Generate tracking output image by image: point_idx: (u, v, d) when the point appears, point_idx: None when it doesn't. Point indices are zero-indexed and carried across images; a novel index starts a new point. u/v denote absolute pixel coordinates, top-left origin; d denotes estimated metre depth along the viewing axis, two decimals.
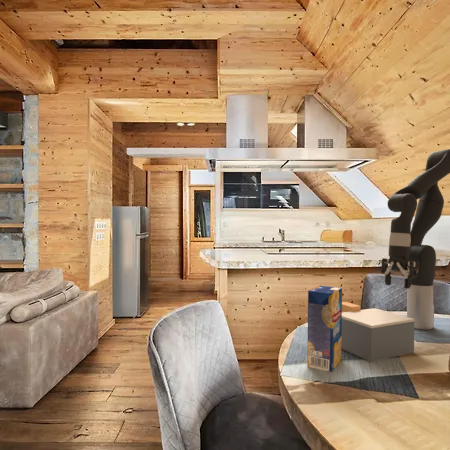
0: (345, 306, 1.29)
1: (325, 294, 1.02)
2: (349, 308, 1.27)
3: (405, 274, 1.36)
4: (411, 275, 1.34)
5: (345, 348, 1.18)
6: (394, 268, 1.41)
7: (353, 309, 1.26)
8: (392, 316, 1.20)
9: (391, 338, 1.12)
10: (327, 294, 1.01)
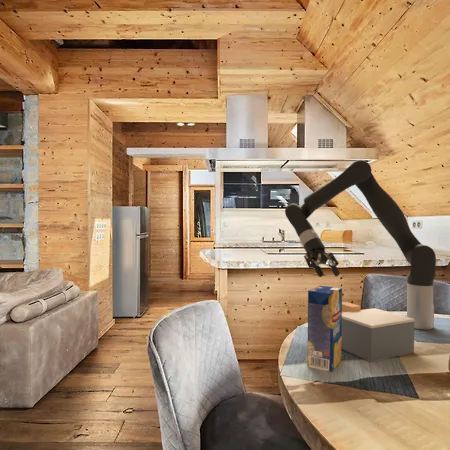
0: (345, 306, 1.29)
1: (325, 294, 1.02)
2: (349, 308, 1.27)
3: None
4: None
5: (345, 348, 1.18)
6: None
7: (353, 309, 1.26)
8: (392, 316, 1.20)
9: (391, 338, 1.12)
10: (327, 294, 1.01)
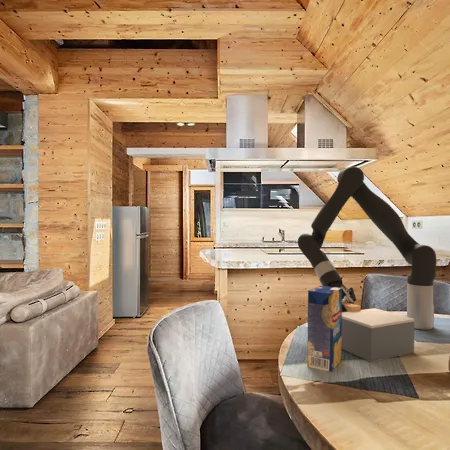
0: (345, 306, 1.29)
1: (325, 294, 1.02)
2: (349, 308, 1.27)
3: None
4: None
5: (345, 348, 1.18)
6: None
7: (353, 309, 1.26)
8: (392, 316, 1.20)
9: (391, 338, 1.12)
10: (327, 294, 1.01)
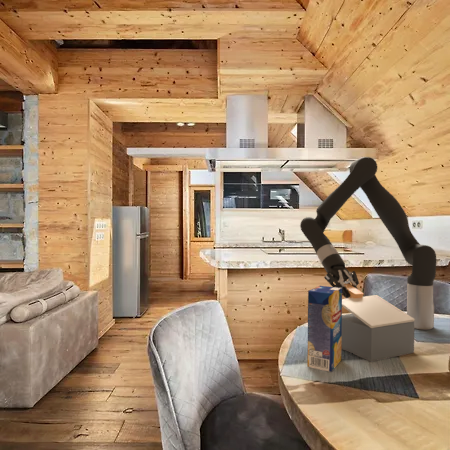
0: (348, 291, 1.27)
1: (325, 294, 1.02)
2: (352, 294, 1.26)
3: None
4: None
5: (345, 348, 1.18)
6: None
7: (356, 296, 1.25)
8: (393, 312, 1.19)
9: (391, 338, 1.12)
10: (327, 294, 1.01)
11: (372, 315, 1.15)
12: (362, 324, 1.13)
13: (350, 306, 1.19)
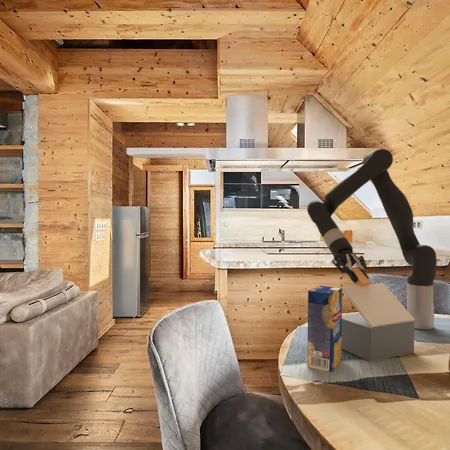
0: None
1: (325, 294, 1.02)
2: (358, 282, 1.23)
3: None
4: None
5: (345, 348, 1.18)
6: None
7: (362, 284, 1.23)
8: (395, 308, 1.18)
9: (391, 338, 1.12)
10: (327, 294, 1.01)
11: (374, 311, 1.14)
12: (362, 324, 1.13)
13: (354, 297, 1.17)
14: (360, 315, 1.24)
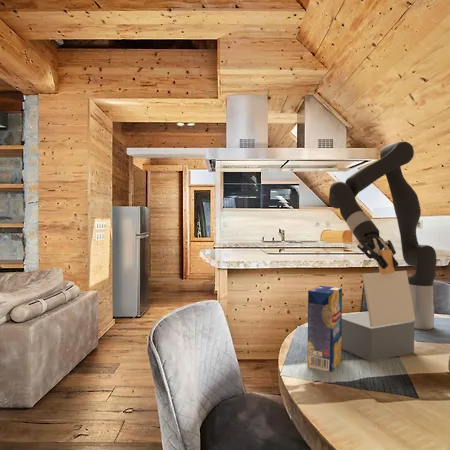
0: None
1: (325, 294, 1.02)
2: (383, 270, 1.14)
3: None
4: None
5: (345, 348, 1.18)
6: None
7: (385, 273, 1.14)
8: (404, 305, 1.16)
9: (391, 338, 1.12)
10: (327, 294, 1.01)
11: (382, 308, 1.11)
12: (362, 324, 1.13)
13: (370, 289, 1.11)
14: (360, 315, 1.24)
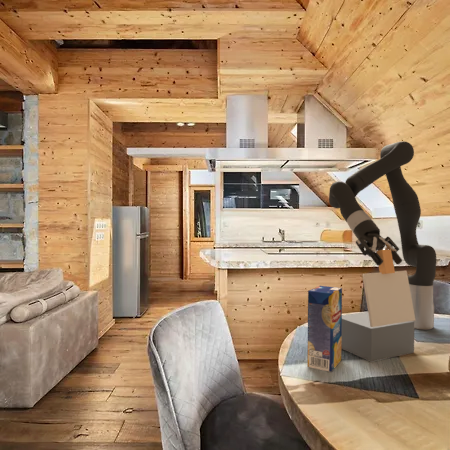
0: (383, 263, 1.14)
1: (325, 294, 1.02)
2: (383, 270, 1.14)
3: None
4: None
5: (345, 348, 1.18)
6: None
7: (385, 273, 1.14)
8: (404, 305, 1.16)
9: (391, 338, 1.12)
10: (327, 294, 1.01)
11: (382, 308, 1.11)
12: (362, 324, 1.13)
13: (370, 289, 1.11)
14: (360, 315, 1.24)
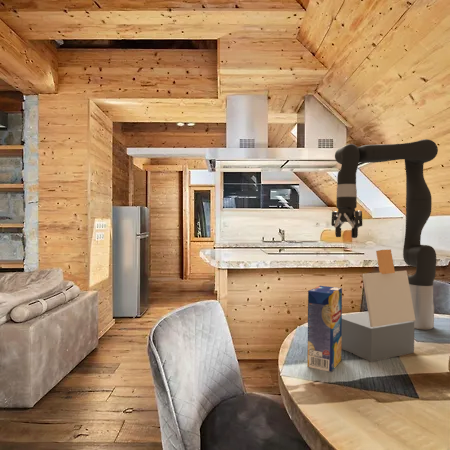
0: (383, 263, 1.14)
1: (325, 294, 1.02)
2: (383, 270, 1.14)
3: (352, 224, 1.38)
4: (357, 224, 1.35)
5: (345, 348, 1.18)
6: (342, 219, 1.42)
7: (385, 273, 1.14)
8: (404, 305, 1.16)
9: (391, 338, 1.12)
10: (327, 294, 1.01)
11: (382, 308, 1.11)
12: (362, 324, 1.13)
13: (370, 289, 1.11)
14: (360, 315, 1.24)
